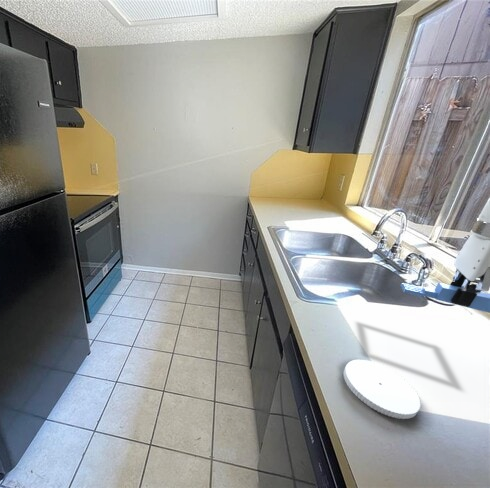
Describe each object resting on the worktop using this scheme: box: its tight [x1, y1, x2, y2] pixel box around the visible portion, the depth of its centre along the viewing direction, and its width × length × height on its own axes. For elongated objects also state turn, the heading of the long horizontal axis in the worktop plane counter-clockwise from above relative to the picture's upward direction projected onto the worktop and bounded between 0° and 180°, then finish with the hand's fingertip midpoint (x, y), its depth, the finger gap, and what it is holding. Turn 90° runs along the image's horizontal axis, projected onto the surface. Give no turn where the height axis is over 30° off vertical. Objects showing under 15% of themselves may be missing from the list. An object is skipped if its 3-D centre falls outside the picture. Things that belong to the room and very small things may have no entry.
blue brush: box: [400, 282, 490, 314], centre depth 64 cm, size 16×4×4 cm, turn 61°
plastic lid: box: [342, 359, 422, 420], centre depth 60 cm, size 14×14×2 cm
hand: (456, 300), depth 63 cm, fingers closed on blue brush, 2 cm apart
